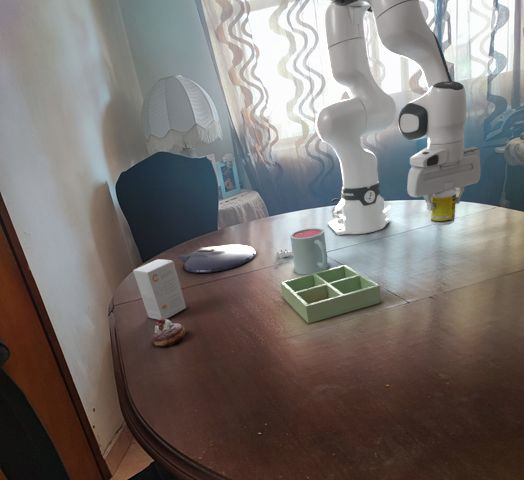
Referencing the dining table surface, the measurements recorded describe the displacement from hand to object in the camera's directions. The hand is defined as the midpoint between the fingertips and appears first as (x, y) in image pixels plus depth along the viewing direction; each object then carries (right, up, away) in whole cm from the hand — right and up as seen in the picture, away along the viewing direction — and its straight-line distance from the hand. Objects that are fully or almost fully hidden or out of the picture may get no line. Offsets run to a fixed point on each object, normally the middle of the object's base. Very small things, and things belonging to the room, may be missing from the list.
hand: (443, 206), depth 127 cm
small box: (-74, -30, -8) cm, 80 cm away
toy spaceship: (-65, -10, +26) cm, 71 cm away
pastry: (-71, -37, -22) cm, 83 cm away
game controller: (-44, -12, +13) cm, 48 cm away
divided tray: (-34, -28, -18) cm, 47 cm away
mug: (-35, -17, +1) cm, 39 cm away
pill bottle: (+1, -4, +2) cm, 5 cm away
